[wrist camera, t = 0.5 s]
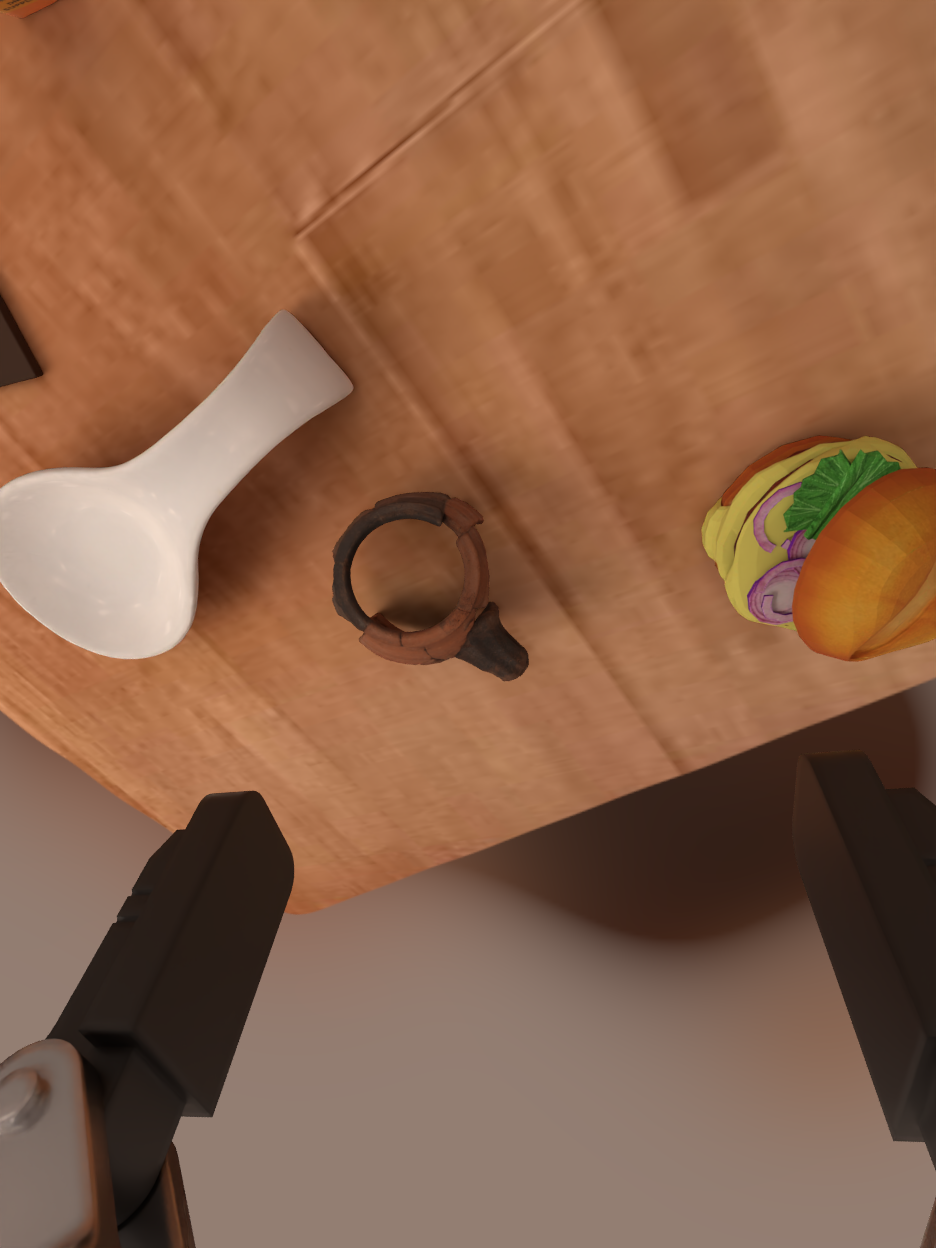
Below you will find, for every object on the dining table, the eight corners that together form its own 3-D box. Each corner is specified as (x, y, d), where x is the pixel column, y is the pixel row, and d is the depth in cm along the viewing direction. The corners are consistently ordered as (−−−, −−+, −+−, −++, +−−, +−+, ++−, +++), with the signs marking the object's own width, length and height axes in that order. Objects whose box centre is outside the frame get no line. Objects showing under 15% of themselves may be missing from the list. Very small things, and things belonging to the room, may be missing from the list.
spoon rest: (151, 657, 45) (90, 731, 39) (-11, 530, 41) (-106, 592, 35) (405, 432, 35) (376, 485, 29) (225, 232, 31) (148, 247, 25)
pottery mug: (328, 603, 42) (279, 606, 34) (411, 472, 41) (382, 442, 33) (492, 713, 41) (483, 742, 33) (579, 581, 41) (593, 578, 32)
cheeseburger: (705, 421, 33) (825, 497, 25) (910, 401, 34) (1092, 467, 26) (681, 602, 39) (774, 714, 30) (859, 579, 40) (996, 682, 31)
